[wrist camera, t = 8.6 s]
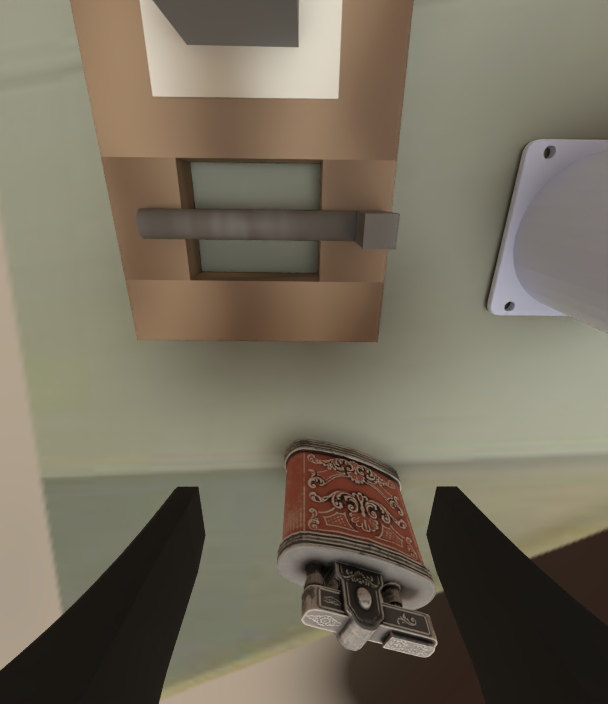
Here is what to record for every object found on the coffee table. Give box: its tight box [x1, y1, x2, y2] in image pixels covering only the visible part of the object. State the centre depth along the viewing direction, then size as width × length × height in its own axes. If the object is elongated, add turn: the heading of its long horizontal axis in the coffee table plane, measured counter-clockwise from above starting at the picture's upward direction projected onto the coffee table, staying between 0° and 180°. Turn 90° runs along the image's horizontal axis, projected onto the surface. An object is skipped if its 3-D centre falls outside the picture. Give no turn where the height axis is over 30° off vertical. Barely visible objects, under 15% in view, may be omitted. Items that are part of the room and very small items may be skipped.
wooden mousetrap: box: [70, 0, 414, 342], centre depth 13 cm, size 12×18×5 cm, turn 179°
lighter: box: [277, 439, 437, 657], centre depth 19 cm, size 8×3×10 cm, turn 67°
